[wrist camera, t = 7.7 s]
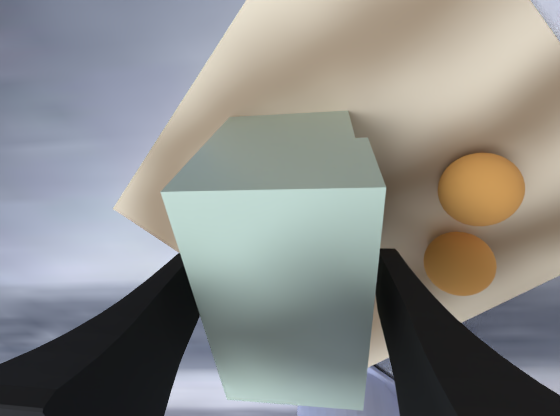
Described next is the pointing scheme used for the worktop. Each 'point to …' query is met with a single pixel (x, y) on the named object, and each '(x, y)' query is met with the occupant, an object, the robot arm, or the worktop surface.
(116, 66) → the worktop surface
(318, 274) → the sage container
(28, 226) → the worktop surface
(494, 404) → the robot arm
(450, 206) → the marble
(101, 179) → the worktop surface
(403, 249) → the birch board
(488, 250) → the marble
